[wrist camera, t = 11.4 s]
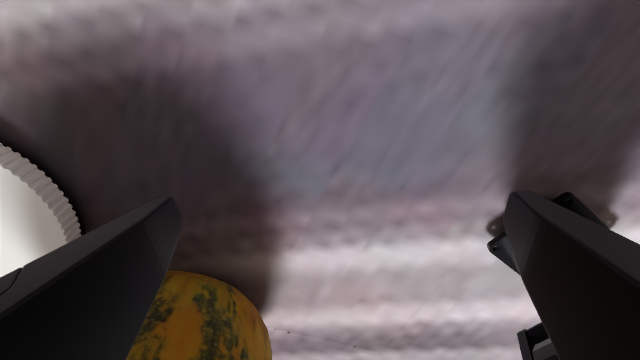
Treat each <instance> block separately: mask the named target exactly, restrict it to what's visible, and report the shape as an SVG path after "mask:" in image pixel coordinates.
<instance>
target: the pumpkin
mask: <svg viewBox="0 0 640 360" xmlns="http://www.w3.org/2000/svg"><path fill="white" fill-rule="evenodd" d="M126 360H272V350H271V344H270V339H269V335H268V330H267V328H266V326H265V324H264V322H263V320H262V318H261V316H260V314H259V312H258V311H257V309H256V308H255V306H254V305H253V304H252V303H251V302H250V301H249V300H248V299H247V298H246V297H245V296H244V295H243V294H242V293H241V292H240V291H239V290H238V289H236V288H234V287H233V286H231V285H229V284H227V283H225V282H223V281H220V280H218V279H215V278H212V277H209V276H206V275H202V274H197V273H192V272H187V271H175V270H167V273H166V275H165V278H164V280H163V282H162V284H161V287H160V289H159V291H158V293H157V295H156V297H155V299H154V301H153V304H152V306H151V308H150V310H149V312H148V314H147V316H146V318H145V320H144V323H143V325H142V327H141V329H140V331H139V333H138V335H137V337H136V340H135V342H134V344H133V346H132V348H131V350H130V352H129V354H128V357H127V359H126Z"/></svg>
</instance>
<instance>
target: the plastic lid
mask: <svg viewBox="0 0 640 360" xmlns="http://www.w3.org/2000/svg"><path fill="white" fill-rule="evenodd" d="M63 194H64V193H63V192H62V191H60V190H59V189H58V186H57V185H56V184H53V183H52V179H51V178H50V177H46V176H45V173H44V172H43V171H40V170H39V169H37V166H36V165H35V164H31V163H30V162H29V160H28V159H27V158H23V157H21V154H19V153H18V152H16V153H15V152H13V151H12V149H11V148H10V147H5V146H3V145H2V143H0V277H2V276H4V275H6V274H8V273H10V272H12V271H14V270H16V269H18V268H20V267H22V268H23V266H24V265H26V264H28V263H30V262H32V261H34V260H36V259H38V258H40V257H41V256H43V255H45V254H47V253H49V252H51V251H53V250H55V249H57V248H59V247H61V246H63V245H65V244H67V243H69V242H71V241H73V240H75V239H77V238H79V237H81V234H79V233H80V232H81V229H79V227H80V224H79V223H78V222H77V221H78V217H75V214H76V212H75V211H73V210H72V205H71V204H69V203H68V201H69V200H68V199H67V198H66V197H64V196H63Z"/></svg>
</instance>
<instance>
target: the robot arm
mask: <svg viewBox="0 0 640 360" xmlns="http://www.w3.org/2000/svg"><path fill="white" fill-rule="evenodd" d="M568 199H569V200H568ZM566 200H568V201H566ZM565 201H566V202H565ZM503 223H504V228H505V232H503V233H502V234H500V235H499V236H497V237H496V238H494V239H492V240H491V241H490V242H488V244H487V247H488V249H489V251H490V252H491V253H492V254H493V255H495V256H496V257H497V258H499V259H500V260H501V261H502V262H504V263H505V264H506V265H508V266H509V267H510V268H511V269H513V270H514V271H515V272H517V273H518V274H519V275H520V276H521V278H522V280H523V283H524V285H525V287H526V289H527V291H528V293H529V296H530V298H531V300H532V302H533V304H534V306H535V308H536V310H537V313H538V315H539V317H540V319H541V321H542V322H541V323H539V324H537V325H535V326H533V327H531V328H529V329H527V330H526V329H524V330H522V331H520V332H518V333H517V336H518V340H519V344H520V350H521V354H522V358H523V360H640V244H638V243H636V242H634V241H631V240H629V239H627V238H625V237H623V236H621V235H619V234H617V233H615V232H613V231H611V230H610V229H609V228H608V227H607V226H606V225H605V224H604V223H603V222H602V221H600V220H599V219H598V218H597V217H596V216H595V215H594V214H593V213H592V212H591V211H590V210H589V209H588V208H587V207H586V206H585V205H584V204H583V203H582V202H581V201H580V200H579V199H578V198H577V197H575V196H574V195H573V194H572V193H569V192H567V193H563V194H561V195H560V196H558V197H556V198H555V199H553V200H552V201H550V200H547V199H545V198H543V197H541V196H539V195H537V194H535V193H533V192H531V191H513V192H512V193H511V194H510V195H509V198H508V202H507V206H506V210H505V213H504V218H503ZM181 230H182V218H181V216H180V213H179V210H178V207H177V204H176V202H175V200H174V199H173V198H172V197H157V198H155V199H153V200H151V201H149V202H147V203H145V204H143V205H141V206H139V207H137V208H135V209H133V210H131V211H129V212H128V213H126V214H124V215H122V216H120V217H118V218H116V219H114V220H112V221H110V222H108V223H106V224H104V225H102V226H100V227H98V228H96V229H94V230H92V231H90V232H88V233H86V234H84V235H83V236H81V237H79V238H77V239H75V240H73V241H71V242H69V243H67V244H65V245H63V246H61V247H59V248H57V249H55V250H53V251H51V252H49V253H47V254H45V255H43V256H41V257H40V258H38V259H36V260H34V261H32V262H30V263H28V264H26V265H24V266H23V268H22V267H20V268H18V269H16V270H14V271H12V272H10V273H8V274H6V275H4V276H2V277H0V360H126V359H127V357H128V354H129V352H130V350H131V348H132V346H133V344H134V342H135V340H136V337H137V335H138V333H139V331H140V329H141V327H142V325H143V323H144V320H145V318H146V316H147V314H148V312H149V310H150V308H151V306H152V304H153V301H154V299H155V297H156V295H157V293H158V291H159V289H160V287H161V284H162V282H163V280H164V278H165V275H166V273H167V270H168V268H169V265H170V262H171V259H172V256H173V253H174V250H175V247H176V245H177V242H178V239H179V236H180V233H181ZM494 246H496V247H494Z"/></svg>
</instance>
